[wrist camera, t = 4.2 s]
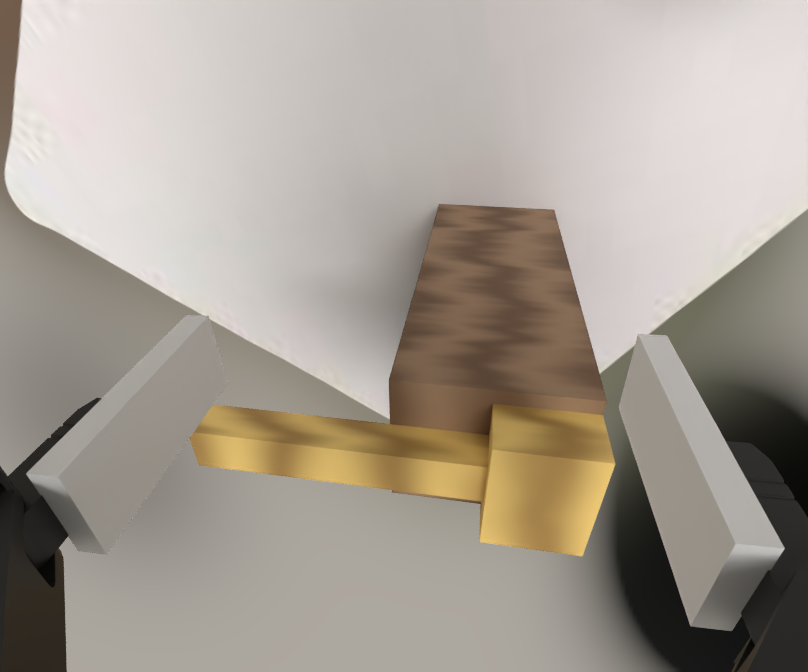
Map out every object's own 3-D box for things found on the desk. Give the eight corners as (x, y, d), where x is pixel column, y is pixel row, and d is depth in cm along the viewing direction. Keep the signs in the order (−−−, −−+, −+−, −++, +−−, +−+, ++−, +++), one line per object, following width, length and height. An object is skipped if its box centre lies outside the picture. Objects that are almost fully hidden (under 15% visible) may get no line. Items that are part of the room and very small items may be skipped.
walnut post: (436, 286, 58) (391, 492, 34) (439, 204, 52) (388, 379, 28) (539, 293, 56) (571, 515, 32) (554, 209, 51) (607, 401, 26)
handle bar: (225, 461, 35) (200, 503, 32) (197, 373, 30) (166, 412, 27) (574, 506, 31) (582, 556, 29) (602, 414, 27) (615, 463, 24)
